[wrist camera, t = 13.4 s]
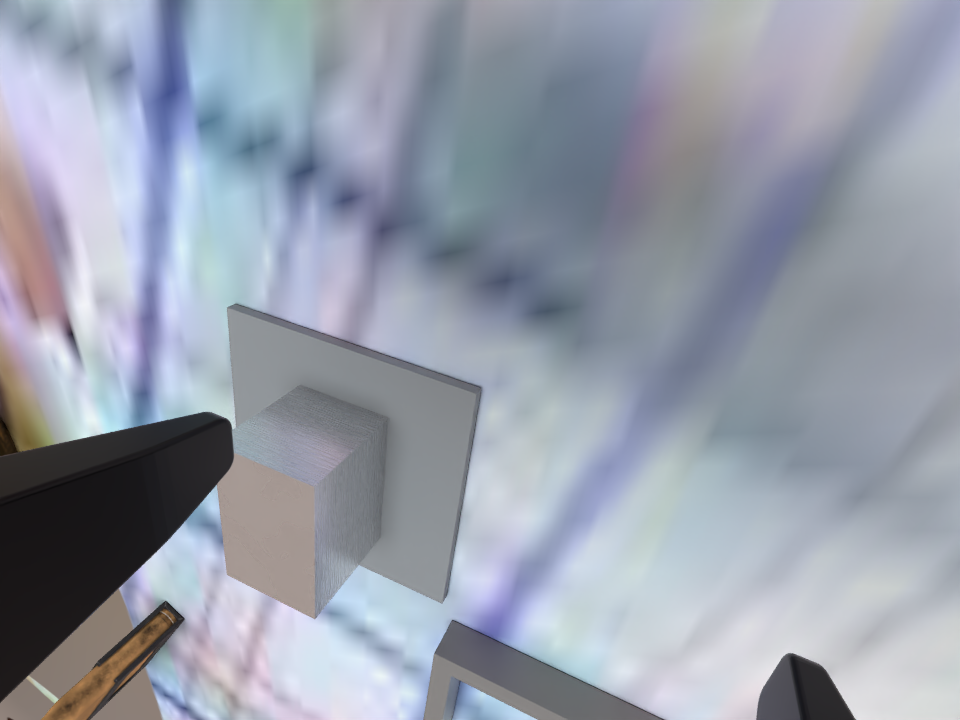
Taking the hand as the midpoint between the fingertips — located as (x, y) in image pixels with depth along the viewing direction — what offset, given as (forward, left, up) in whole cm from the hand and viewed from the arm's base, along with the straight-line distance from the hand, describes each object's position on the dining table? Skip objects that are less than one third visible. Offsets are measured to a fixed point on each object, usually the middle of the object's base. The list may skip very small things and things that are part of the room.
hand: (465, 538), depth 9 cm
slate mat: (+10, +11, -12) cm, 19 cm away
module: (+10, +11, -12) cm, 19 cm away
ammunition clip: (+26, +35, -12) cm, 45 cm away
